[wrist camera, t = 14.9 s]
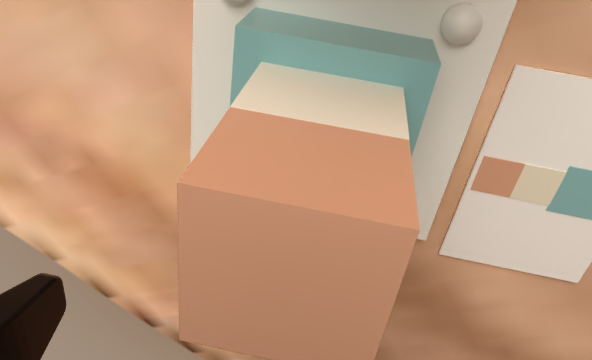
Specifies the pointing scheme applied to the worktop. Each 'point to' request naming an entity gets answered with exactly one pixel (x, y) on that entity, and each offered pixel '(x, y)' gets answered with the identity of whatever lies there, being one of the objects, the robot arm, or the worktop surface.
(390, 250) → the rust brick
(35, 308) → the robot arm
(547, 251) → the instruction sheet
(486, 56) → the build plate
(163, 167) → the worktop surface
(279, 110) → the cream brick
